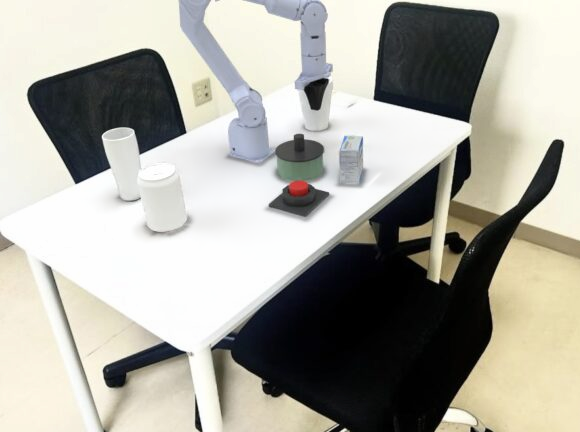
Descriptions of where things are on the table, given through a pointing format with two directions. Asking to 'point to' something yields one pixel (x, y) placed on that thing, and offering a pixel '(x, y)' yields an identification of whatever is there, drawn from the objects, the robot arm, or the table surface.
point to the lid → (299, 150)
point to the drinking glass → (123, 160)
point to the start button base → (299, 201)
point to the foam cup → (321, 117)
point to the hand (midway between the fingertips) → (315, 109)
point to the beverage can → (162, 197)
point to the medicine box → (351, 159)
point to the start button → (298, 188)
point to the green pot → (300, 169)
